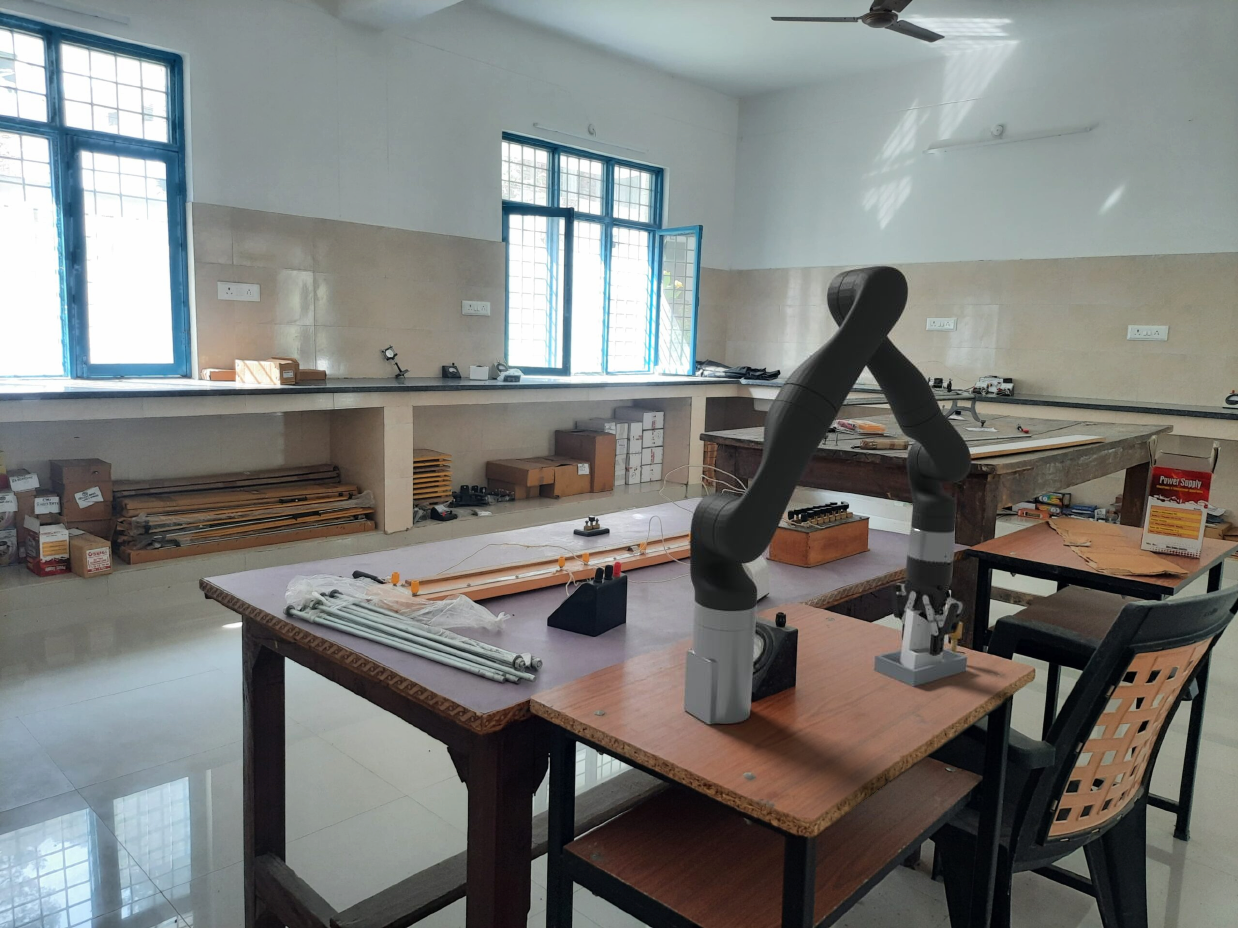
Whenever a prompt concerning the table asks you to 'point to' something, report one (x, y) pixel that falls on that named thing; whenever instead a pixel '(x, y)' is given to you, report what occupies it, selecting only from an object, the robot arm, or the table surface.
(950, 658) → the shallow grey tray
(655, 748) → the table surface
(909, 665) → the white angled block
